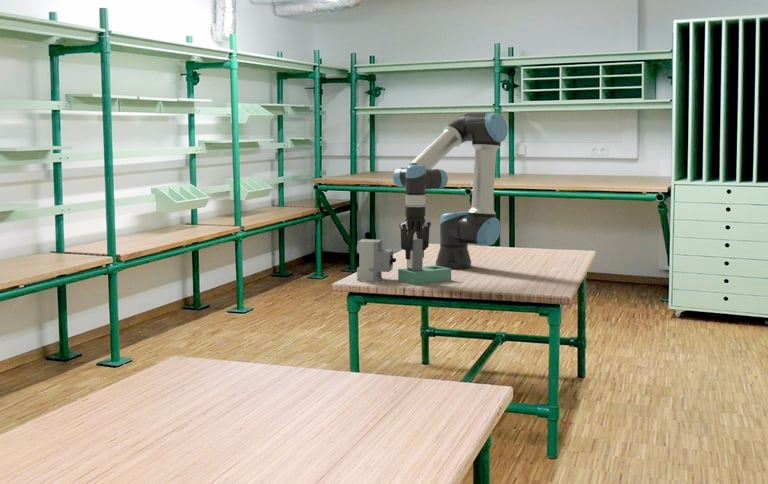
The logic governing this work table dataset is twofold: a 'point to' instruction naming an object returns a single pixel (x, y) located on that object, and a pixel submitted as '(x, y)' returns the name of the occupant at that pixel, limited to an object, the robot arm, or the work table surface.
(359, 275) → the circuit breaker
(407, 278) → the box
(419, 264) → the plug
